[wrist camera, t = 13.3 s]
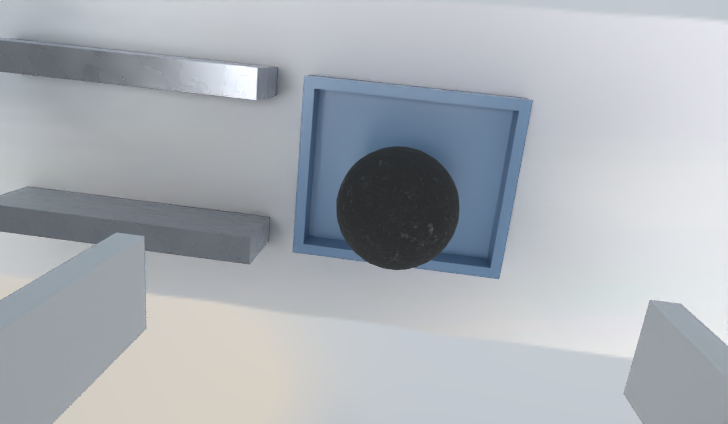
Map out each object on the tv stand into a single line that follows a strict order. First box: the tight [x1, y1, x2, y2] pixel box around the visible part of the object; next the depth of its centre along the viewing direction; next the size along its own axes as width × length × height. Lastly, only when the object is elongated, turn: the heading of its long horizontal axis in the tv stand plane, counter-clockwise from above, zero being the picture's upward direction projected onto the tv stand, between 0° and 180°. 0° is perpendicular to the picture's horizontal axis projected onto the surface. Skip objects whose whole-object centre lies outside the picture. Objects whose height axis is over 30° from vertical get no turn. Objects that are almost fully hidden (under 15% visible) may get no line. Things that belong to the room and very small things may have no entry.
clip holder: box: [0, 38, 278, 264], centre depth 30 cm, size 16×11×4 cm
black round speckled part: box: [336, 146, 460, 270], centre depth 26 cm, size 6×6×10 cm
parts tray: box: [293, 75, 533, 279], centre depth 30 cm, size 12×10×2 cm
